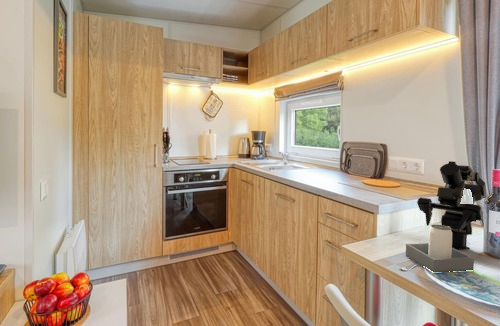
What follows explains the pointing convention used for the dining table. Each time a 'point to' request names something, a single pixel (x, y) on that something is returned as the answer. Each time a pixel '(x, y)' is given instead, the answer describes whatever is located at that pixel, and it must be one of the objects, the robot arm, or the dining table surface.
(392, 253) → the dining table surface
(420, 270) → the dining table surface
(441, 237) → the can
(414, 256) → the tote
